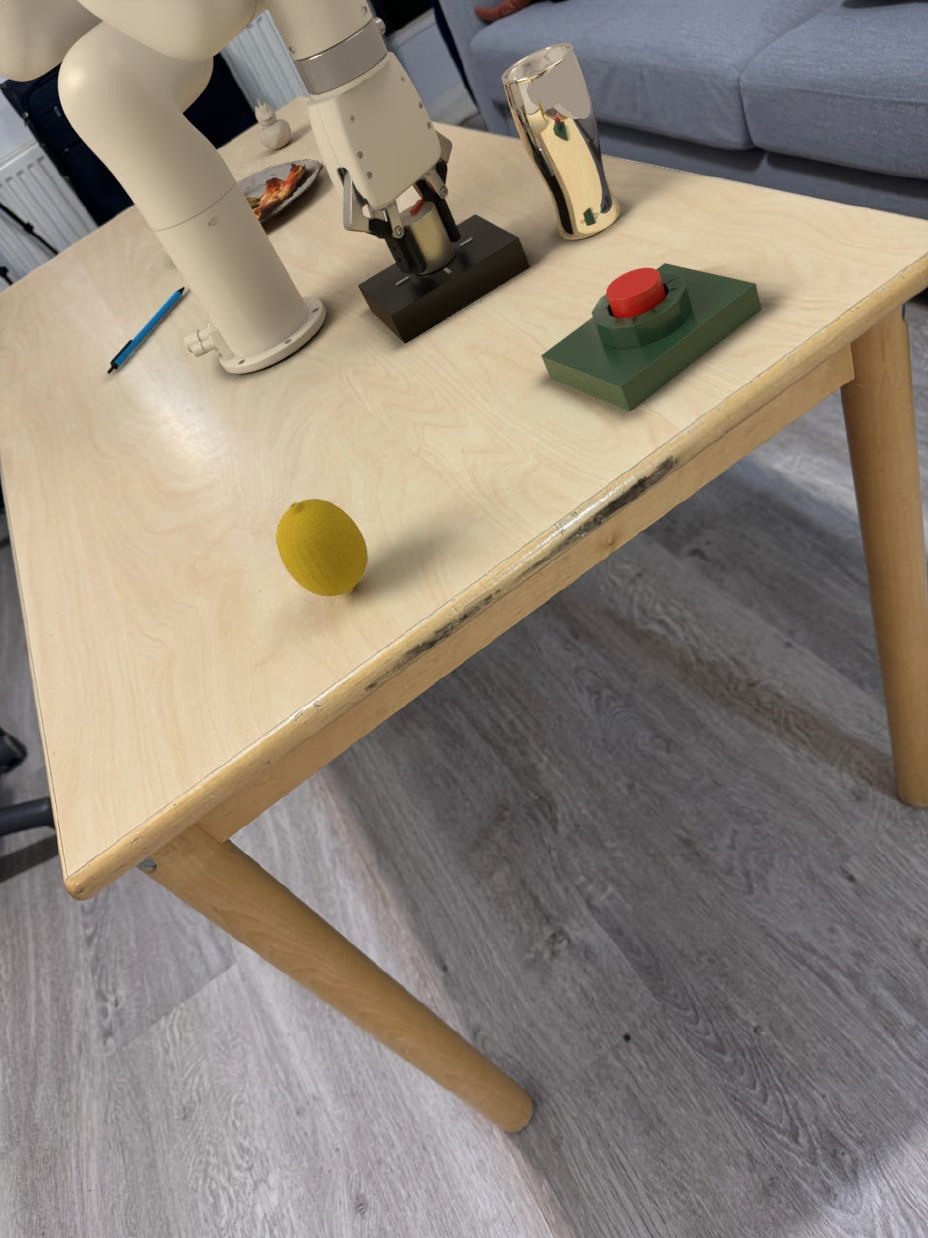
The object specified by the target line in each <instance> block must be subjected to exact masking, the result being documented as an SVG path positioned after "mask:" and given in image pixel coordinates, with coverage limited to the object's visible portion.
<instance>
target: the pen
mask: <svg viewBox="0 0 928 1238" xmlns="http://www.w3.org/2000/svg"><path fill="white" fill-rule="evenodd" d="M185 289H186V287H185V286H182V287H180V288H179V289H177V290H176V291H174V293H172V295H171V296H170V297H169V298H168V299H167V300H166V302H165V303H164V304H163V305H162V306H161V307H160V308H159V309H158V310H157V312H155V314H154V315H153V316H152V317H151V318H150V320H148V321H147V323H146V324H145V325H144V326H143V328H141V329H140V330H139V332H138V333H137V334H136V335H135V336H134V337H133V339H129V340H128V341H127V343H125V345H123V347H122V348H121V349H120V350H119V351H118V352H117V354H116V355H115V356H114V357H113V358H112V359H111V361H110V362H109V364H110V368H109V369H108V370H107V371H106V373H107V374H108V375H111V373H112V372H113V371H114V370H118V369H119V367H120V366H121V365H122V364H123V363H124V362H125V361H126V359H127V358H129V356H130V355H131V354H132V353H133V352H134V350H136V348H137V347H138V346H139V345H140V343H141V342H143V341H144V340H145V338H146V337H147V336H148V334H150V332H152V330H153V329H154V328H155V327H156V325H157V324H158V323H159V322H160V321H161V320H162V319H163V318H164V316H166V314H167V313H168V312H169V311H170V310H171V309H172V307H173V306H174V305H175V304H176V303H177V302H178V301H179V300H180V298H182V296H183V293H184V291H185Z"/></svg>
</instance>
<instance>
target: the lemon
mask: <svg viewBox="0 0 928 1238" xmlns="http://www.w3.org/2000/svg"><path fill="white" fill-rule="evenodd" d="M275 540H276V546H277V547H276V548H277V551H278V554H279V557H280V559H281V562H282V564H283V565H284V568H285V569H286V571H287V572H288V573H289V574H290V576H291V577H292V579H293V580H294V581H295V582H296V583H297V584H298V585H300V586H301V588H303V589H304V590H306V591H309V592H310V593H312V594H315V595H318V596H322V597H335V596H340V595H344V594H346V593H351V592H353V591H354V589H355V587H356V586H357V585H358V584H359V583H360V581H361V580H362V579H363V576H364V575H365V573H366V570H367V566H368V560H369V558H368V557H369V556H368V555H369V554H368V547H367V543H366V540H365V537H364V536H363V533H362V531H361V530H360V529H359V527H358V526H357V524H356V522H355V521H354V520H353V519H352V517H351V516H350V515H349V514H348V513H346V512H345V510H343V508H341V507H339V506H337V505H336V504H335V503H333V502H330V501H329V500H324V499H320V498H319V499H318V498H309V499H303V500H301V501H297V502H296V501H294V502H292V503H291V504H290V505H289V507H288V509H286V511H285V512H284V514H283V515H282V516H281V518H280V520H279V522H278V524H277V529H276V532H275Z"/></svg>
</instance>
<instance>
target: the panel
mask: <svg viewBox="0 0 928 1238" xmlns="http://www.w3.org/2000/svg"><path fill="white" fill-rule="evenodd" d="M456 226H457V228H458V231H459V233H460V236H461V238H460V239H459V240H458V241H457V242H451V243H452V245H453V247H454V250H455V256H454V258H453V259H452V260H451V261H450V262H449V263H448V264H447V265H445V266H444V267H442V268H440V269H438V270H436V271H434V272H432V273H428V274H424V275H418V274H404V273H403V272H402V271H401V270H400V268H399V267H398V266H397V264H396V262H394V263H392V264H391V265H389V266H387V267H386V268H383V270H381V271H379V272H378V273H376V274H374V275H372V276H371V277H369V278H368V279H366V280H364V281H362V282H361V283H359V284H357V287H358V289H359V291H360V293H361V295H362V296H363V298H364V300H365V302H366V305H367V306H368V308H369V310H370V311H371V312H372V314H374V315H375V316H376V317H377V318H378V319H379V320H380V321H381V322H382V323H383V324H384V325H385V326H386V327H387V328H388V329H389V330H390V331H391V332H392V333H393V334H394V335H395V336H396V337H397V338H399V340H401V342H402V343H403V344H406V343H408V342H410V341H411V340H413V339H414V338H416V337H418V336H419V335H420V334H422V333H424V332H426V331H427V330H429V329H430V328H433V327H434V326H436V325H437V324H439V323H440V322H442V321H443V320H445V319H447V318H449V317H450V316H452V315H454V314H455V313H457V312H458V311H460V310H461V309H463V308H465V307H467V306H468V305H470V304H471V303H473V302H475V301H476V300H478V299H479V298H481V297H483V296H485V295H486V294H488V293H489V292H491V291H492V290H494V289H496V288H497V287H500V286H501V285H503V284H504V283H506V282H508V281H509V280H511V279H512V278H514V277H516V276H517V275H518V274H521V273H522V272H524V271H525V270H527V269H529V268H530V267H531V265H530V263H529V260H528V257H527V255H526V252H525V249H524V247H523V244H522V242H521V239H520V237H519V236H516V235H515V234H513V233H511V232H509V231H507V230H505V229H503V228H502V227H500V226H498V225H496V224H495V223H493V222H491V221H489V220H487V219H486V218H483V217H481V216H480V215H478V214H476V213H474V214H473V215H470V217H467V218H466V219H464V220H462V221H461V222H460V223H457V224H456Z"/></svg>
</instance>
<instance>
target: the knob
mask: <svg viewBox="0 0 928 1238" xmlns="http://www.w3.org/2000/svg"><path fill="white" fill-rule="evenodd" d="M399 214H400V218H401V222H402V225H403V229H404V232H410V233H411V234H412V236H413V238H414V240H415V242H416V244H417V247H418V249H419V251H420V253H421V255H422V257H423V259H424V262H425V264H426V266H427V268H426V271H425V272H423V273H422V274H418V275H424V274H428V273H432V272H434V271H436V270H438V269H440V268H442V267H444V266H445V265H447V264H448V263H449V262H450V261H451V260H452V259H453V258H454V256H455V250H454V247H453V245H452V243H451V241H450V238H449V236H448V234H447V231H446V229H445V227H444V225H443V222H442V220H441V218H440V216H439V213H438V211H437V209H436V206H435V204H434V203H433V202H431V201H425V202H424V201H423V199H422V198H420V199H417V201H416V202H415V203H414V204H413V205H411V206H409V207H407V208H405V209H403V210H402V211H401V212H399Z"/></svg>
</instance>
